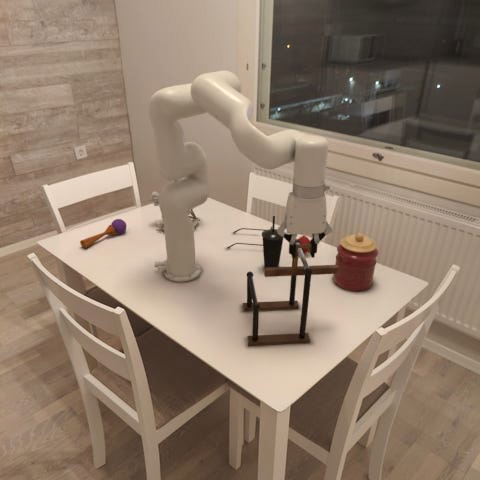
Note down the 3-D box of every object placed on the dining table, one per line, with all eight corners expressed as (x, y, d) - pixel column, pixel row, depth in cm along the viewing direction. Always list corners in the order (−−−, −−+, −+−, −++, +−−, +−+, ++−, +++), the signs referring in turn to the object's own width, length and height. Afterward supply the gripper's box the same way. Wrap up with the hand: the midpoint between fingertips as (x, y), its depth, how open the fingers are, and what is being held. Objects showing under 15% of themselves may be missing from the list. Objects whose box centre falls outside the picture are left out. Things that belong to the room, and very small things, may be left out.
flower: (165, 208, 197) (146, 165, 176) (214, 206, 194) (201, 162, 173) (157, 244, 187) (136, 203, 166) (209, 242, 183) (194, 201, 162)
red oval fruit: (293, 250, 167) (294, 231, 163) (308, 250, 168) (310, 230, 163) (296, 258, 162) (297, 238, 158) (311, 257, 163) (313, 238, 158)
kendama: (75, 236, 168) (117, 216, 180) (81, 250, 171) (122, 229, 183) (84, 238, 164) (126, 217, 176) (90, 252, 167) (131, 231, 179)
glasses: (270, 252, 166) (271, 240, 163) (227, 249, 168) (226, 237, 166) (274, 236, 178) (274, 224, 175) (233, 233, 180) (233, 221, 177)
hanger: (264, 277, 119) (265, 247, 115) (263, 273, 121) (264, 244, 116) (337, 273, 121) (341, 244, 116) (336, 270, 122) (340, 241, 117)
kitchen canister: (347, 267, 157) (354, 221, 147) (379, 281, 149) (389, 233, 139) (325, 281, 149) (330, 233, 140) (358, 296, 141) (366, 247, 132)
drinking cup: (280, 275, 152) (284, 222, 141) (258, 273, 153) (260, 220, 142) (283, 264, 158) (286, 212, 147) (262, 262, 159) (264, 210, 149)
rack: (248, 346, 121) (249, 273, 108) (242, 305, 137) (242, 238, 124) (309, 342, 122) (318, 270, 110) (296, 303, 138) (302, 236, 126)
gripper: (338, 183, 112) (330, 247, 122) (271, 185, 111) (268, 250, 120) (346, 194, 105) (337, 261, 115) (275, 196, 104) (272, 263, 114)
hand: (302, 255), depth 118 cm, fingers closed on hanger, 4 cm apart
